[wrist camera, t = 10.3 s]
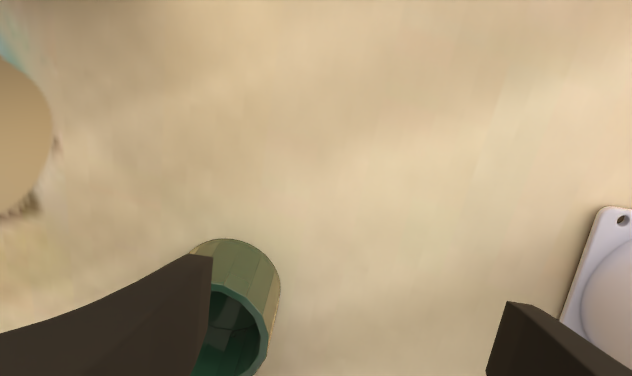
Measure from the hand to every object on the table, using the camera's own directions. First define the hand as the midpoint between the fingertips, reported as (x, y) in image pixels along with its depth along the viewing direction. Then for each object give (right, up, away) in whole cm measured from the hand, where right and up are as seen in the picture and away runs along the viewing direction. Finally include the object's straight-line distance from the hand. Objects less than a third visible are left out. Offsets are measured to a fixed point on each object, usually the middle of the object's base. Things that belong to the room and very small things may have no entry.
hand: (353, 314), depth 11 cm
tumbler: (-5, -2, +12) cm, 13 cm away
